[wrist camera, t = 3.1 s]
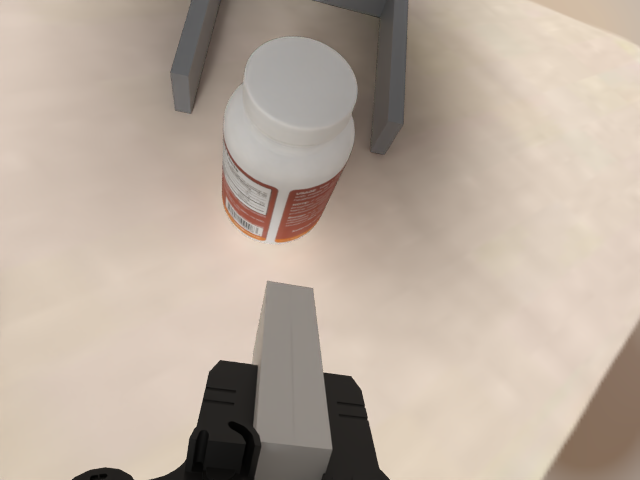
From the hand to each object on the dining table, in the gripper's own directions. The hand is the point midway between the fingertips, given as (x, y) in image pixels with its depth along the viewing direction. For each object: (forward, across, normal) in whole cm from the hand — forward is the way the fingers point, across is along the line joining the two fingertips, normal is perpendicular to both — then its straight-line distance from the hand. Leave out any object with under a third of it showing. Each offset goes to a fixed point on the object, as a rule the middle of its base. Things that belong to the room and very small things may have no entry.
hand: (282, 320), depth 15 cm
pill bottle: (+15, -1, -1) cm, 15 cm away
